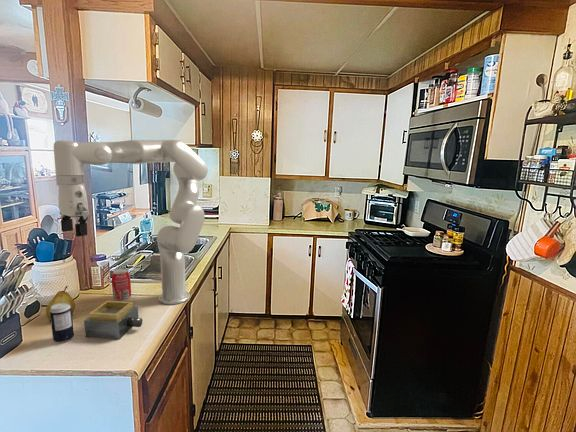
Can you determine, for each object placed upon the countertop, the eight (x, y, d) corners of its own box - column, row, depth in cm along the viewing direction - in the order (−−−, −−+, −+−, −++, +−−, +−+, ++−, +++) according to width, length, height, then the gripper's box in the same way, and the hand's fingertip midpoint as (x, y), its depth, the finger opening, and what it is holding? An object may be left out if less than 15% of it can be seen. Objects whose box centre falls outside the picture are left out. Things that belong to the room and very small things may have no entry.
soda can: (121, 293, 143) (118, 267, 140) (135, 295, 141) (133, 269, 139) (109, 300, 136) (106, 273, 133) (124, 302, 134) (121, 274, 132)
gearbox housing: (107, 319, 120) (105, 299, 119) (149, 321, 119) (147, 301, 118) (85, 337, 109) (83, 315, 107) (131, 340, 108) (129, 317, 106)
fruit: (42, 325, 115) (38, 293, 113) (55, 313, 124) (51, 283, 122) (69, 323, 117) (66, 292, 115) (80, 311, 126) (77, 282, 124)
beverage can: (78, 334, 110) (74, 301, 108) (67, 344, 104) (63, 309, 102) (60, 334, 110) (56, 301, 108) (49, 344, 104) (44, 309, 102)
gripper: (97, 182, 101) (100, 235, 104) (70, 178, 110) (74, 227, 113) (70, 183, 95) (74, 239, 98) (45, 179, 104) (49, 231, 107)
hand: (74, 233), depth 105 cm, fingers open, 9 cm apart
